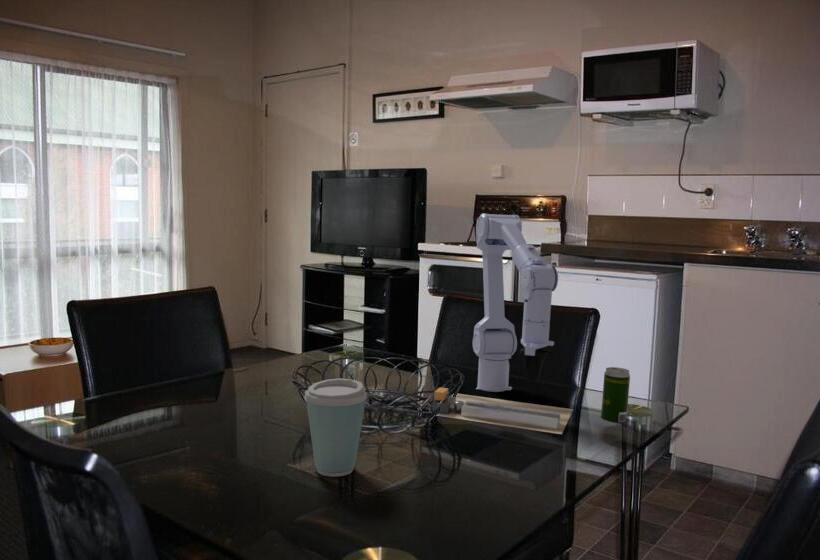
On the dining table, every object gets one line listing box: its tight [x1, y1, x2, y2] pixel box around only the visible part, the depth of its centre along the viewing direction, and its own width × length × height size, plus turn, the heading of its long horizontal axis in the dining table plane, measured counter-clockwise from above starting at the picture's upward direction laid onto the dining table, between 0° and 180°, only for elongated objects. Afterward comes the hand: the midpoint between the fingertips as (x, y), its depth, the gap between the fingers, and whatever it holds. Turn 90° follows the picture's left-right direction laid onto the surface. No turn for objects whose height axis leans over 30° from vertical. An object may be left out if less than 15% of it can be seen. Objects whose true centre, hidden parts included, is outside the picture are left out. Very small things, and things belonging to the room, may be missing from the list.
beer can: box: [600, 366, 631, 423], centre depth 155 cm, size 5×5×12 cm
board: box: [436, 393, 574, 435], centre depth 157 cm, size 19×28×1 cm
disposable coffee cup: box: [304, 378, 368, 478], centre depth 121 cm, size 11×11×15 cm
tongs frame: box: [432, 395, 559, 430], centre depth 152 cm, size 6×27×2 cm, turn 70°
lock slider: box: [433, 387, 449, 401], centre depth 156 cm, size 4×2×2 cm, turn 160°
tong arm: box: [454, 400, 561, 424], centre depth 152 cm, size 3×22×2 cm, turn 72°
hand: (532, 381), depth 155 cm, fingers closed
